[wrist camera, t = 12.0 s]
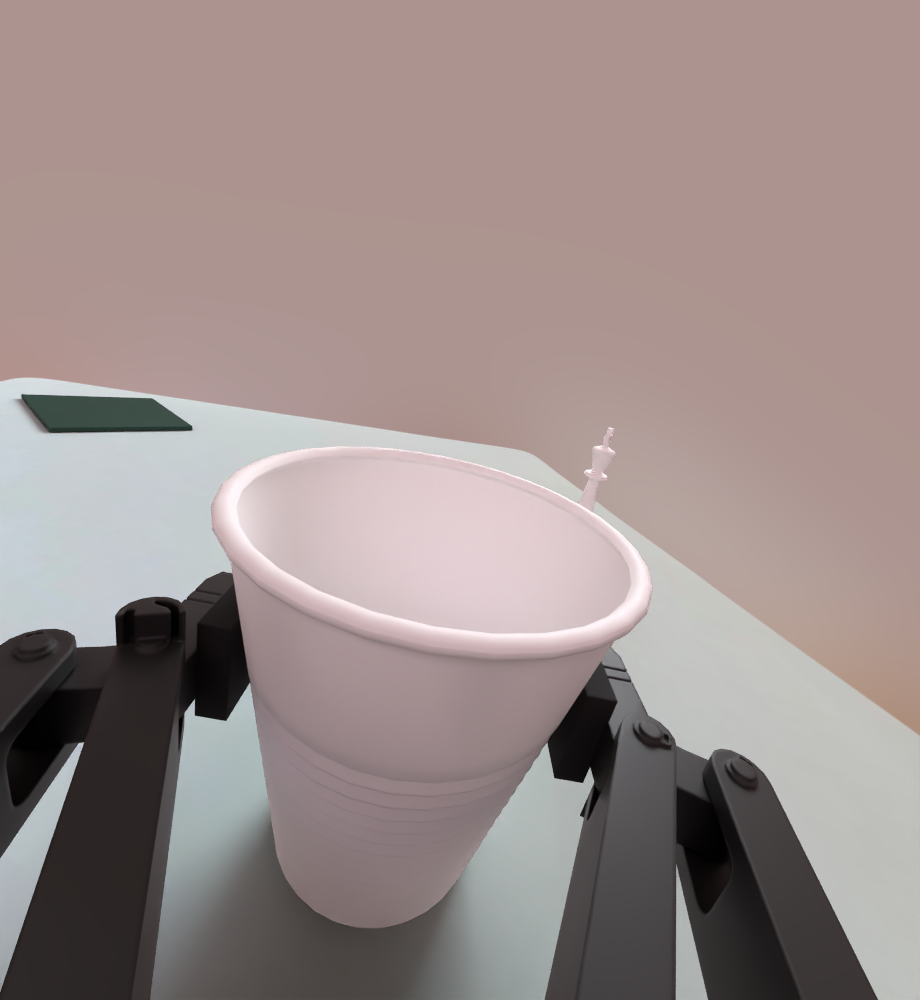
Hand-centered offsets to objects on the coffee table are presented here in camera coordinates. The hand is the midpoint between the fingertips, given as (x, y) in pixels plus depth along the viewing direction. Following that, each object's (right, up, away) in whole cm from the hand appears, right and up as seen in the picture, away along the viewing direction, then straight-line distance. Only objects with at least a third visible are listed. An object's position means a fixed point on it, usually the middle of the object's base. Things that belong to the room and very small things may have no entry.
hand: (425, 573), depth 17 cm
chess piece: (+12, 0, +26) cm, 29 cm away
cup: (-1, -8, -2) cm, 8 cm away
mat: (-33, +11, +28) cm, 45 cm away
